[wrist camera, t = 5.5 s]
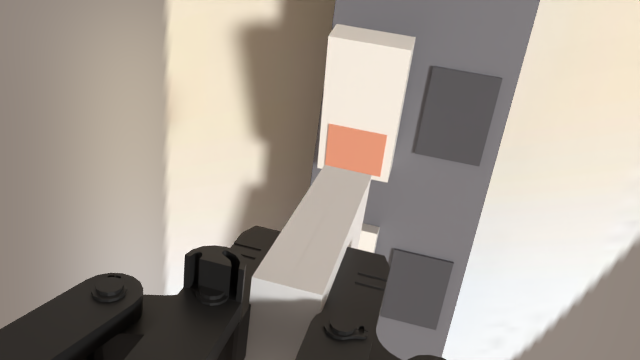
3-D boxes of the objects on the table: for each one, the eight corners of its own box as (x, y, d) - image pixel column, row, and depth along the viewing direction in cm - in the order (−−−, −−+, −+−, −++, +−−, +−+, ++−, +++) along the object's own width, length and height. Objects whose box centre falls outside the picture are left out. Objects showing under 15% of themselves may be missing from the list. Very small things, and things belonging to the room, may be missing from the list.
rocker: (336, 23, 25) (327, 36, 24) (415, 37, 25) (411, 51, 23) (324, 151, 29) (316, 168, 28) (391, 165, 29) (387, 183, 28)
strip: (425, -515, 22) (418, -621, 18) (665, -513, 21) (715, -627, 17) (304, 307, 38) (286, 349, 34) (436, 341, 37) (433, 388, 32)
